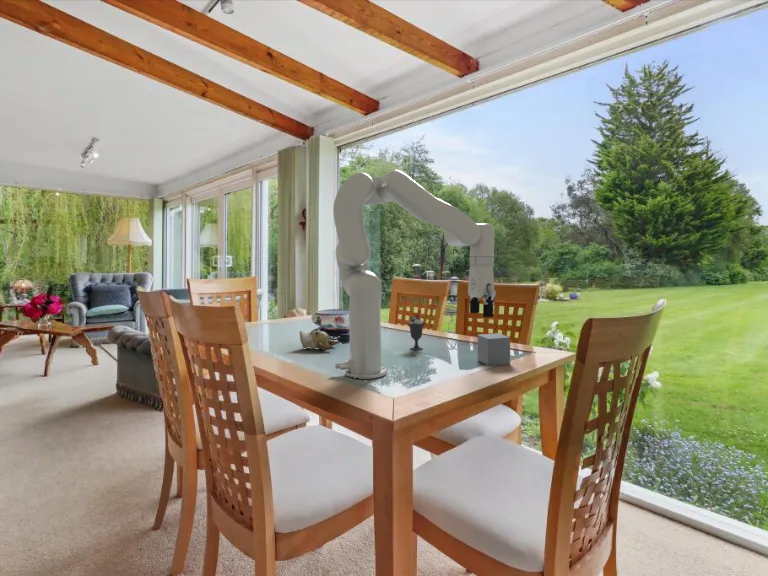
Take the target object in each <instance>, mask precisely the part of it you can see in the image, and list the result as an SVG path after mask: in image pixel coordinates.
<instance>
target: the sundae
mask: <svg viewBox="0 0 768 576" xmlns="http://www.w3.org/2000/svg"><path fill="white" fill-rule="evenodd" d="M420 312H421V310H418V312H417V314H416V315H413V316H410V321H408V322H407V325H408V326H409V333H410V336H411V338H412V340H414V346H413V347H410V348H409V350H410V351H424V348H423V347H420V346H419V340H420V339H421V338H422V336H423V329H424V326H425V324H426V322H423V320H422V318H421V316H420Z"/></svg>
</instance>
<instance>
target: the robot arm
mask: <svg viewBox="0 0 768 576" xmlns="http://www.w3.org/2000/svg"><path fill="white" fill-rule="evenodd" d="M337 190H338V191H337V193H336V195H335V198H334V201H333V209H332V210H333V212H332V213H333V214H332V215H333V220H334V225H335V230H336V232H335V233H336V235H337V241H338V243H337V245H336V248H335V257H336V263H337V265H338V270H339V274H340V278H341V279H340V280H341V283H342V286H343V289H344V291H345V293H346V294H347V295H348V296H349V301H348V302H349V304H348V322H349V325H348V326H349V354H350V357H348V358H347V359H348V360H345V362H339V361H338V362H335V363H334V368H335V370H340V371H344V370H345V376H347V377H348V376H350V377H349V378H351V377H353V378H352V379H356V378H359V379H358V380H370V379H371V380H372V379H377V378H381V377H384V376H386V375H387V374H388V371H387V370H388V369H387V368H386V367H385V366H383V364H382V326H381V325H382V324H381V321H382V320H381V305H382V304H381V303H382V295H383V294H382V292H383V291H382V289H383V288H382V287H383V286H382V283H381V279H380V278H379V277H378V275H377V274H375V273H374V272H372V271H370V268H369V265H368V264H369V260H370V258H371V255H372V254H371V253H372V251H371V246H370V242H369V239H368V235H367V230H366V228H365V227H366V226H365V221H364V216H363V210H364V206H371V205H378V204H379V205H380V204H385V203H390V202H394V203H396V204H397V205H398V206H400V207H401V208H402V209H403V210H405V211H406V212H407V213H409V214H410V215H412V216H413V217H414V218H415V219H416V220H419V221H421V222H424V223H428V224H432V225H435V226H437V227H439V228H441V229H443V230H445V231H444V240H445V242H446V243H447V244H448V245H450V246H452V247H454V248H458V247H459V248H460V247H469V271H468V272H469V273H468V284H467V294H468V296H469V313H470V314H479V313H480V302H481V301H479V300H480V299H481V298H482V300H483V303H484V304H482V307H483V308H482V316H483V318H493V317H494V305H495V300H496V294H497V291H496V290H495V277H494V275H495V274H494V267H495V265H494V263H495V226H494V225H493V224H492V223H487V222H486V223H483V222H482V223H477V222H476V221H474V220H473V218H471V217H470V216H468V215H467V214H466V213H464V212H463V211H462V210H460V209H459V208H457V207H456V206H453V205H452V204H450V203H448V202H446V201H444V200H442V199H441V198H437V197H436V196H434V195H433V194H432V193H430V192H429V191H428V190H427V189H425V188H424V187H423V186H421V185H420V184H419V183H418V182H416V180H414V179H413V178H411V177H410V176H409V175H408V174H406V173H405V172H403V171H401V170H398V169H393V170H390V171H388V172H387V173H386V174H384V175H381V176H375V177H371V176H370V175H369V174H368V173H366V172H363V171H361V172H355V173H352V174H351V175H350V176H349V177H348V178H346V180H344V182H342V184H341V185H340V187H339V189H337Z"/></svg>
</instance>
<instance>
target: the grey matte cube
mask: <svg viewBox="0 0 768 576" xmlns="http://www.w3.org/2000/svg"><path fill="white" fill-rule="evenodd" d="M477 361H478V362H479V363H482V364H483V365H486V366H487V367H494V366H504V365H511V336H507V335H505V334H502V333H500V332H498V333H497V332H496V333H481V334H477Z"/></svg>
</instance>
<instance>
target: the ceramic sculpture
mask: <svg viewBox="0 0 768 576" xmlns="http://www.w3.org/2000/svg"><path fill="white" fill-rule="evenodd" d="M299 340H300V343H301V346H302V349H303V348H307V347H310V348H309V349H313V348H319V349H322V350H321V351H328V350H331V349H333V348H334V346H335V345H337V344H339V343H340V341H339V340H338V341H337V340H336V341H335V340H332V339H330V336H329V334H328V333H327V332H326V331H320V330H319V328H318V327H317V328H314V329H311V331H310V332H306V331H303V330H302V331H301V330H300V331H299Z"/></svg>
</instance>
